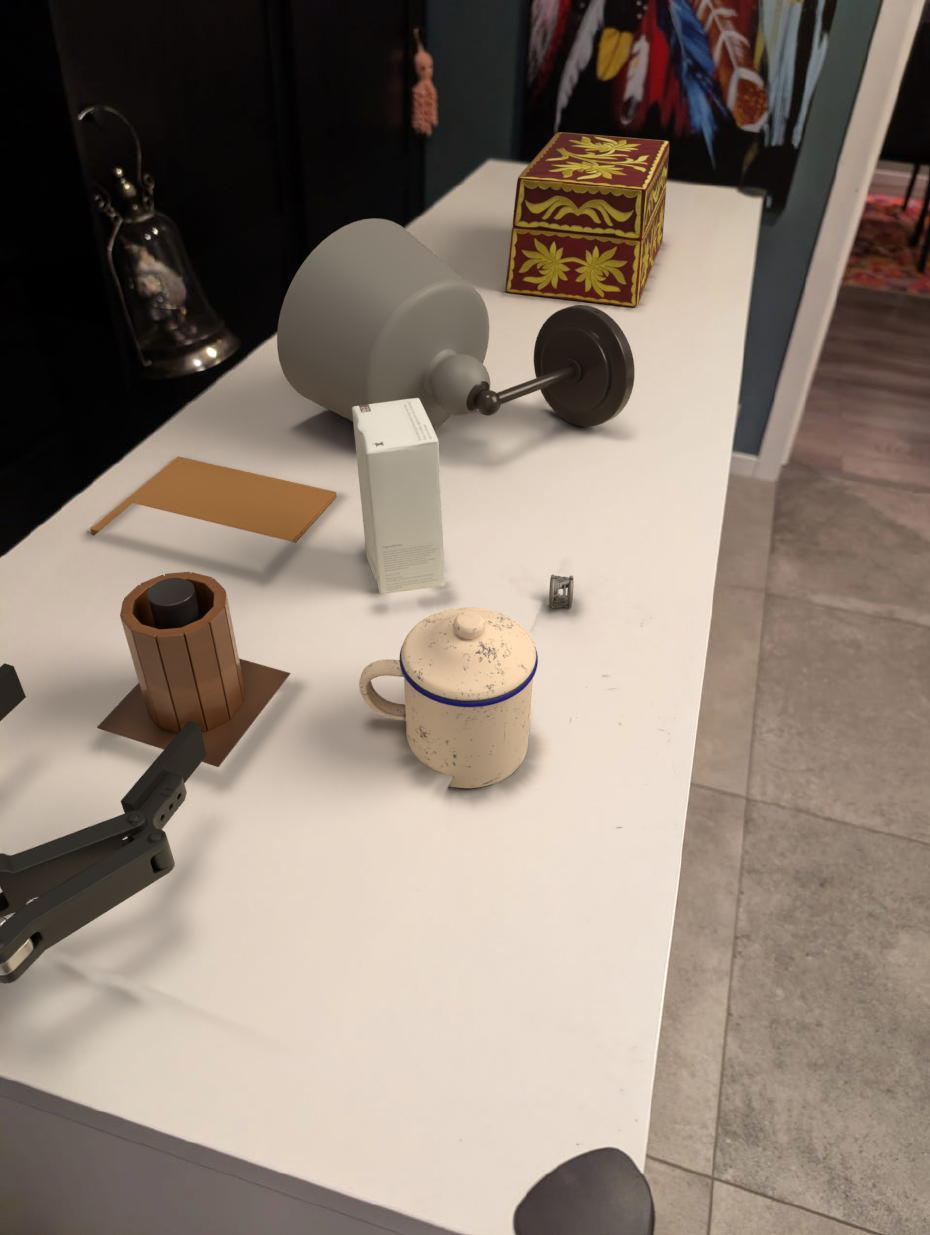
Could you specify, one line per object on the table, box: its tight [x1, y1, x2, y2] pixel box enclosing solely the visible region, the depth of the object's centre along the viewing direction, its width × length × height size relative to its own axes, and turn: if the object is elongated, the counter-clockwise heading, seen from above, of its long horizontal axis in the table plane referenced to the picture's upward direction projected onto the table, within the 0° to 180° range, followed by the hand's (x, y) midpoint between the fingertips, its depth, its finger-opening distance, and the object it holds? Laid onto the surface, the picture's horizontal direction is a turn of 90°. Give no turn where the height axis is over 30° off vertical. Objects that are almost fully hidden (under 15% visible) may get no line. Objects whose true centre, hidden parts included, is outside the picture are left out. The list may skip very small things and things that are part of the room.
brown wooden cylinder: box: [119, 571, 244, 733], centre depth 67 cm, size 7×7×9 cm
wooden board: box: [89, 456, 337, 543], centre depth 90 cm, size 18×14×1 cm
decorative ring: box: [548, 574, 574, 610], centre depth 80 cm, size 3×2×3 cm
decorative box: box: [505, 131, 670, 308], centre depth 137 cm, size 28×19×15 cm
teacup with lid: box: [358, 606, 539, 789], centre depth 65 cm, size 12×9×12 cm
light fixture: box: [276, 217, 636, 430], centre depth 98 cm, size 20×25×27 cm
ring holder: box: [96, 578, 291, 768], centre depth 67 cm, size 10×10×12 cm
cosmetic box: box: [352, 398, 446, 595], centre depth 79 cm, size 8×6×15 cm
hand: (104, 707), depth 59 cm, fingers open, 13 cm apart
